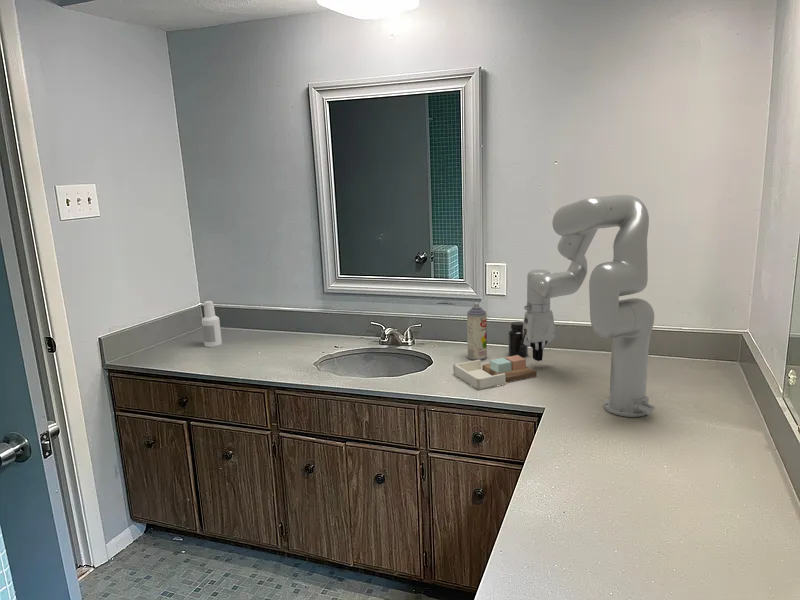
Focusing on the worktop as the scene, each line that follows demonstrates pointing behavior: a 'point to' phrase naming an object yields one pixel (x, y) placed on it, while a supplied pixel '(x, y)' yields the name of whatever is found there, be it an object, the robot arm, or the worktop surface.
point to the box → (477, 375)
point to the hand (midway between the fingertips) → (537, 359)
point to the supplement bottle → (517, 340)
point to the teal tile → (500, 365)
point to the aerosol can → (477, 333)
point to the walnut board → (512, 373)
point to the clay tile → (516, 362)
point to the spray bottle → (211, 326)
